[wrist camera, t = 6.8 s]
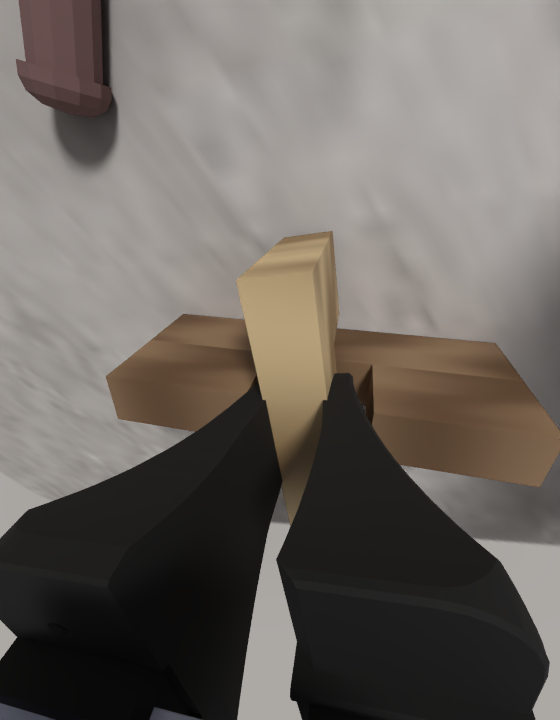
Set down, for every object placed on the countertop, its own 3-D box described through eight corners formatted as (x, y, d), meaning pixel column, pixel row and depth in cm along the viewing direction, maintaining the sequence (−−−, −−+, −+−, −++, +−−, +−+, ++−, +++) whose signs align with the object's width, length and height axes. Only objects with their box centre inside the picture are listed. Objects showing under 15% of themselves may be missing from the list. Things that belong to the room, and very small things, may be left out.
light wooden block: (284, 237, 11) (235, 280, 7) (332, 231, 11) (312, 271, 7) (314, 443, 15) (295, 548, 11) (350, 444, 15) (344, 554, 11)
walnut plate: (496, 343, 12) (566, 439, 8) (482, 381, 13) (539, 487, 9) (183, 314, 14) (105, 376, 10) (188, 347, 15) (118, 419, 11)
